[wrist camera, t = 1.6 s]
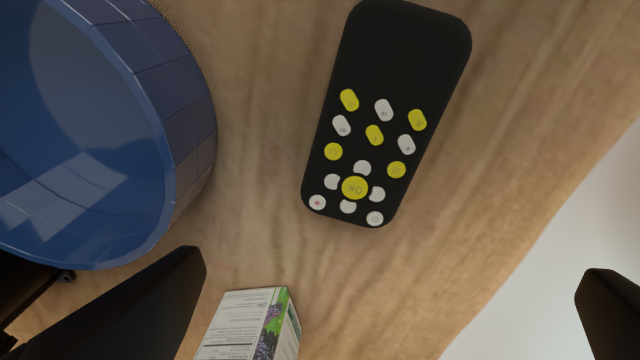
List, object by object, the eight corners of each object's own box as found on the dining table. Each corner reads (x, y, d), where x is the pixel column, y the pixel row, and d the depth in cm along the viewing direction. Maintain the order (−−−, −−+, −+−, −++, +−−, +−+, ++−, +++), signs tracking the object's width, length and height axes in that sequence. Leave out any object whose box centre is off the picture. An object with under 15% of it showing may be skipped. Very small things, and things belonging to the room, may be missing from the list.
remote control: (476, 22, 16) (490, 26, 14) (385, 220, 23) (387, 239, 21) (356, -14, 16) (355, -15, 14) (299, 195, 22) (293, 212, 21)
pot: (238, 221, 24) (208, 276, 19) (36, 215, 26) (-36, 264, 21) (178, -60, 16) (100, -83, 11) (-108, -35, 18) (-278, -46, 13)
